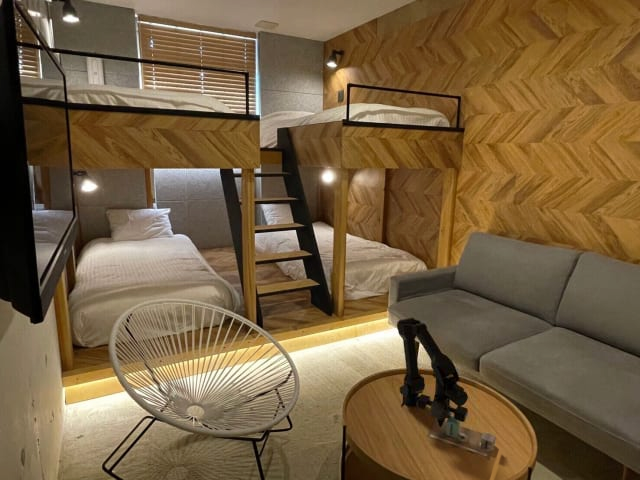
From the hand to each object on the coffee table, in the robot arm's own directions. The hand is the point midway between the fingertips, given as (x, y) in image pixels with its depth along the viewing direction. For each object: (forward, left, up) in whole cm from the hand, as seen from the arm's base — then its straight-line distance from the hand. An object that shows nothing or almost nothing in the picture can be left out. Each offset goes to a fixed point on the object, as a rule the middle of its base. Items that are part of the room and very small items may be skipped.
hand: (440, 426), depth 170 cm
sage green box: (+5, 0, -2) cm, 5 cm away
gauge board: (+8, 0, -3) cm, 9 cm away
